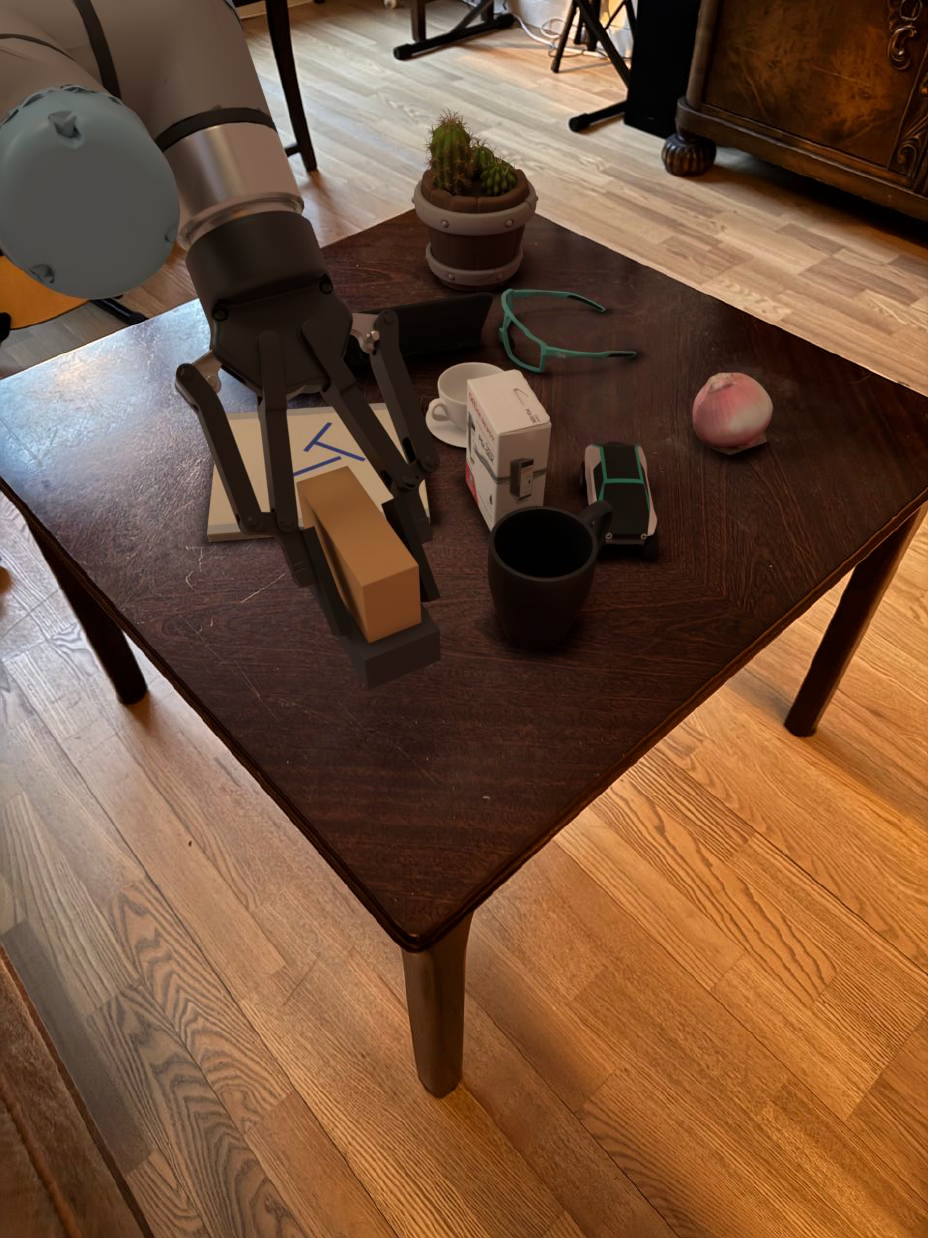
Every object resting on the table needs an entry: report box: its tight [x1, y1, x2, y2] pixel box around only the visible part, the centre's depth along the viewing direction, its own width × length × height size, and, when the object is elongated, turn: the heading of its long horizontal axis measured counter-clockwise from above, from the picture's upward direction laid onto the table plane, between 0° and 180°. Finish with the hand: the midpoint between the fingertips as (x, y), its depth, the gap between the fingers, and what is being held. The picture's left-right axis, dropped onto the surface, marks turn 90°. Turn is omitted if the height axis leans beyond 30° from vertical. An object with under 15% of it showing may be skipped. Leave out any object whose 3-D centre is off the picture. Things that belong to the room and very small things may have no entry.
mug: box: [487, 500, 613, 651], centre depth 69 cm, size 8×12×10 cm
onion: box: [692, 372, 774, 456], centre depth 86 cm, size 8×8×7 cm
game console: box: [344, 291, 494, 367], centre depth 96 cm, size 16×14×9 cm
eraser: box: [296, 466, 442, 691], centre depth 54 cm, size 5×12×8 cm, turn 29°
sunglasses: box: [498, 288, 637, 373], centre depth 99 cm, size 14×15×5 cm
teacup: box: [425, 361, 505, 449], centre depth 88 cm, size 10×10×5 cm
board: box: [206, 402, 431, 543], centre depth 84 cm, size 20×18×1 cm
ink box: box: [465, 368, 552, 532], centre depth 77 cm, size 9×5×12 cm, turn 18°
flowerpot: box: [410, 107, 539, 293], centre depth 103 cm, size 14×15×20 cm
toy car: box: [579, 440, 659, 558], centre depth 79 cm, size 6×12×5 cm, turn 179°
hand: (386, 615), depth 52 cm, fingers closed on eraser, 5 cm apart
